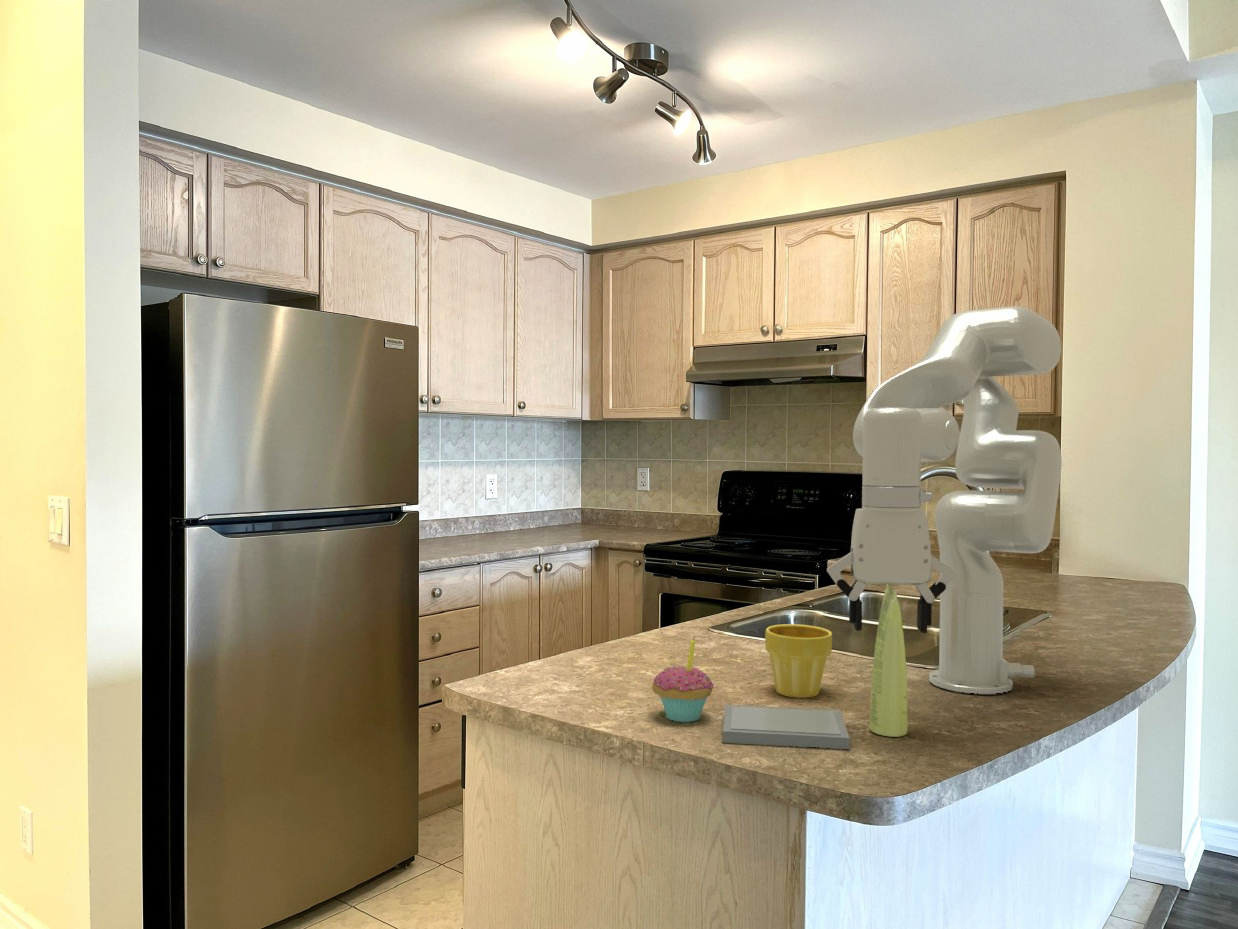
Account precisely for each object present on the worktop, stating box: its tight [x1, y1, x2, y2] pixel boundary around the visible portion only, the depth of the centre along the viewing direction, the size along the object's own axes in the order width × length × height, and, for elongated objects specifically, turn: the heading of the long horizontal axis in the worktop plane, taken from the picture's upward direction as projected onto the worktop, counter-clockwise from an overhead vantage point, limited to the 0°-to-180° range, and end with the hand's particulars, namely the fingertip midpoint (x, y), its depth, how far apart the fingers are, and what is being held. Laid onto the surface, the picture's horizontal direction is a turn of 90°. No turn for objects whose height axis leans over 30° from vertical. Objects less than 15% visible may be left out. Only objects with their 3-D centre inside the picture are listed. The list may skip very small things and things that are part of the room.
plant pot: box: [764, 623, 833, 699], centre depth 137 cm, size 10×10×10 cm
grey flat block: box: [722, 704, 851, 750], centre depth 118 cm, size 16×12×2 cm
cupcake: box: [651, 635, 715, 723], centre depth 124 cm, size 9×8×12 cm
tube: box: [869, 584, 908, 738], centre depth 118 cm, size 6×5×20 cm
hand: (889, 629), depth 118 cm, fingers open, 7 cm apart
